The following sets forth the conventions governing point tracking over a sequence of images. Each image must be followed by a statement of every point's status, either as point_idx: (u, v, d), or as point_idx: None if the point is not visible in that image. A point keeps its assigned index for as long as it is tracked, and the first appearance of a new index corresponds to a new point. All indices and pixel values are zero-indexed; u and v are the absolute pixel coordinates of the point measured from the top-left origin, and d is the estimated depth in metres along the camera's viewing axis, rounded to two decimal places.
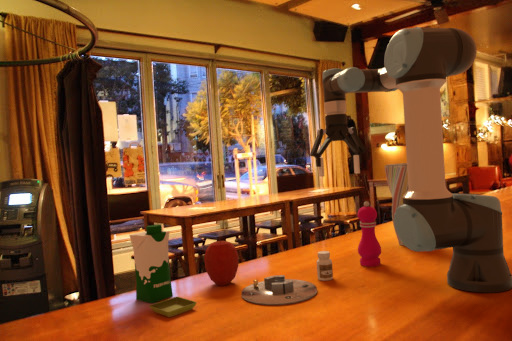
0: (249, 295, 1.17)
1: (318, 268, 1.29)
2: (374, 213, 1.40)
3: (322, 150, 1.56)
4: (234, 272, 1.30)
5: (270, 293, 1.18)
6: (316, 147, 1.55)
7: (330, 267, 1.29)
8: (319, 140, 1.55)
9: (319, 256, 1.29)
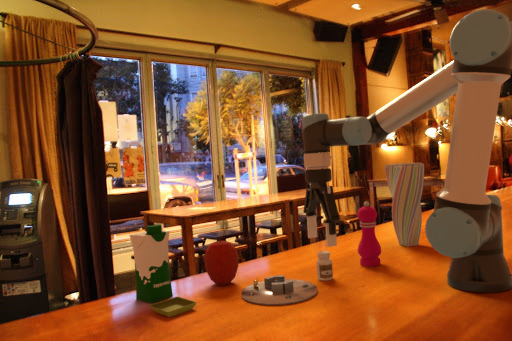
0: (249, 295, 1.17)
1: (318, 268, 1.29)
2: (374, 213, 1.40)
3: (307, 208, 1.36)
4: (234, 272, 1.30)
5: (270, 293, 1.18)
6: (305, 204, 1.38)
7: (330, 267, 1.29)
8: (306, 196, 1.36)
9: (319, 256, 1.29)
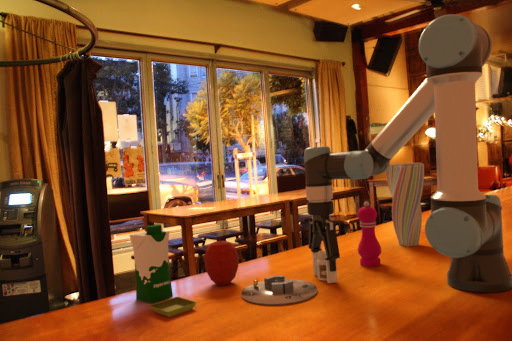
0: (249, 295, 1.17)
1: (318, 268, 1.29)
2: (374, 213, 1.40)
3: (312, 243, 1.35)
4: (234, 272, 1.30)
5: (270, 293, 1.18)
6: (309, 239, 1.37)
7: None
8: (309, 231, 1.36)
9: (319, 256, 1.29)
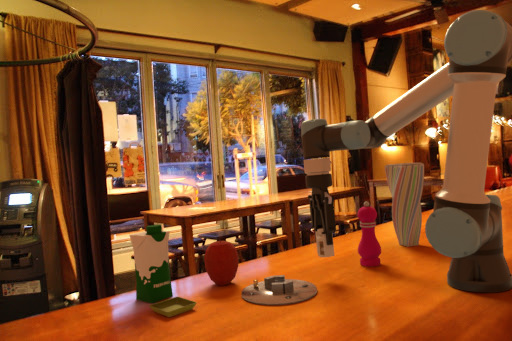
0: (249, 295, 1.17)
1: (318, 245, 1.29)
2: (374, 213, 1.40)
3: (314, 221, 1.32)
4: (234, 272, 1.30)
5: (270, 293, 1.18)
6: (311, 217, 1.34)
7: None
8: (310, 209, 1.34)
9: (319, 233, 1.29)
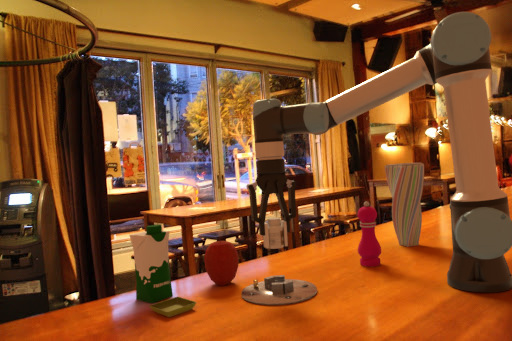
0: (249, 295, 1.17)
1: (279, 235, 1.18)
2: (374, 213, 1.40)
3: (263, 212, 1.18)
4: (234, 272, 1.30)
5: (270, 293, 1.18)
6: (254, 210, 1.17)
7: None
8: (254, 200, 1.17)
9: (277, 222, 1.19)
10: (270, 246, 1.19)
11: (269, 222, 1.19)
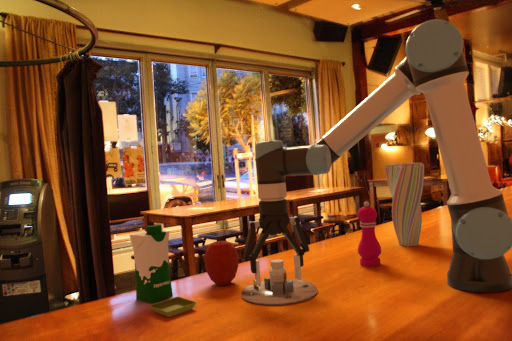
0: (249, 295, 1.17)
1: (282, 278, 1.18)
2: (374, 213, 1.40)
3: (257, 251, 1.17)
4: (234, 272, 1.30)
5: (270, 293, 1.18)
6: (248, 248, 1.17)
7: None
8: (251, 238, 1.17)
9: (281, 265, 1.19)
10: None
11: (272, 265, 1.19)
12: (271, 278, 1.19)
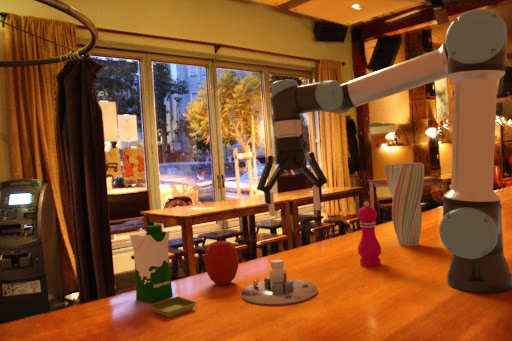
0: (249, 295, 1.17)
1: (282, 278, 1.18)
2: (374, 213, 1.40)
3: (272, 183, 1.23)
4: (234, 272, 1.30)
5: (270, 293, 1.18)
6: (264, 179, 1.22)
7: None
8: (268, 170, 1.23)
9: (281, 265, 1.19)
10: None
11: (272, 265, 1.19)
12: (271, 278, 1.19)
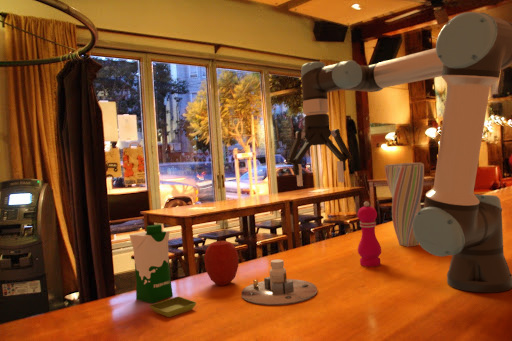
0: (249, 295, 1.17)
1: (282, 278, 1.18)
2: (374, 213, 1.40)
3: (300, 156, 1.35)
4: (234, 272, 1.30)
5: (270, 293, 1.18)
6: (293, 152, 1.35)
7: None
8: (297, 144, 1.35)
9: (281, 265, 1.19)
10: None
11: (272, 265, 1.19)
12: (271, 278, 1.19)
